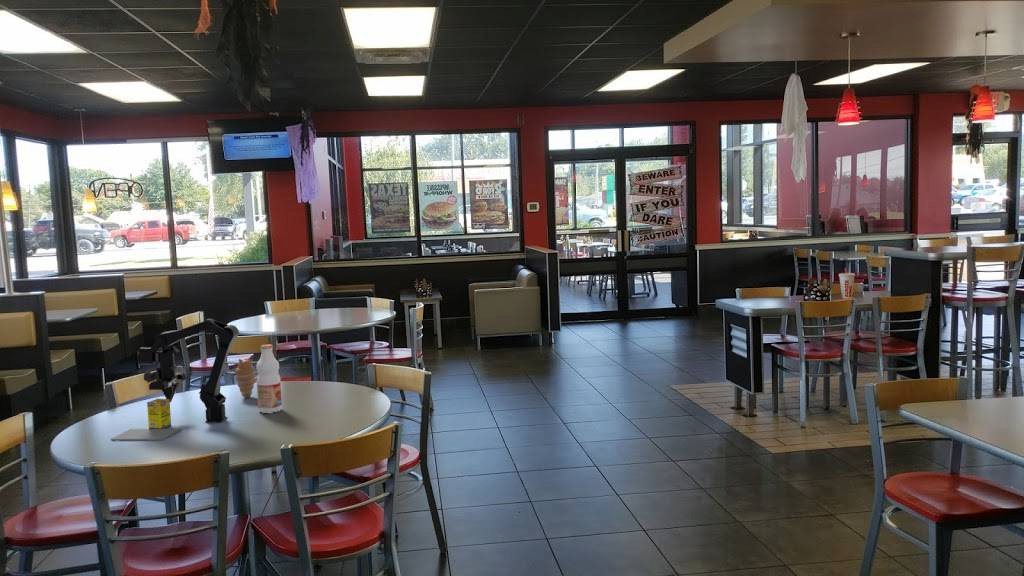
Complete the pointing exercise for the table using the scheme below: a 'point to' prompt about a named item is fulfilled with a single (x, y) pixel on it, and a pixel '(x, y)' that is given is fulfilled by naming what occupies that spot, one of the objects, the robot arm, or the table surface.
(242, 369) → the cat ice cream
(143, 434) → the mat
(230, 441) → the table surface
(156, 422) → the supplement box
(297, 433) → the table surface
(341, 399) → the table surface
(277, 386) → the fruit juice
